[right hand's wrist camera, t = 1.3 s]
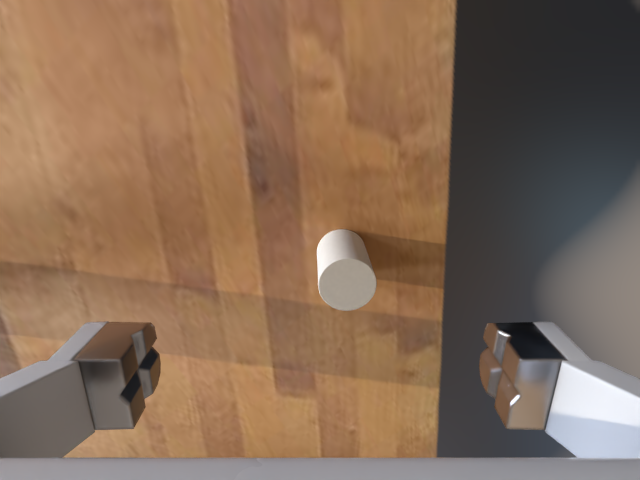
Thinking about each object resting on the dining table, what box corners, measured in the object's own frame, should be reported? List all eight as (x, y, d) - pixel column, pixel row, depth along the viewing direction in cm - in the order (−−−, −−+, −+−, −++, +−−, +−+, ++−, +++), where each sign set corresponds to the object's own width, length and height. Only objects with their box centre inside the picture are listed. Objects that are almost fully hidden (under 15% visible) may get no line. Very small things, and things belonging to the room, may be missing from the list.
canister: (346, 282, 46) (353, 320, 39) (307, 257, 45) (306, 291, 38) (375, 246, 45) (388, 278, 38) (335, 219, 44) (341, 247, 36)
